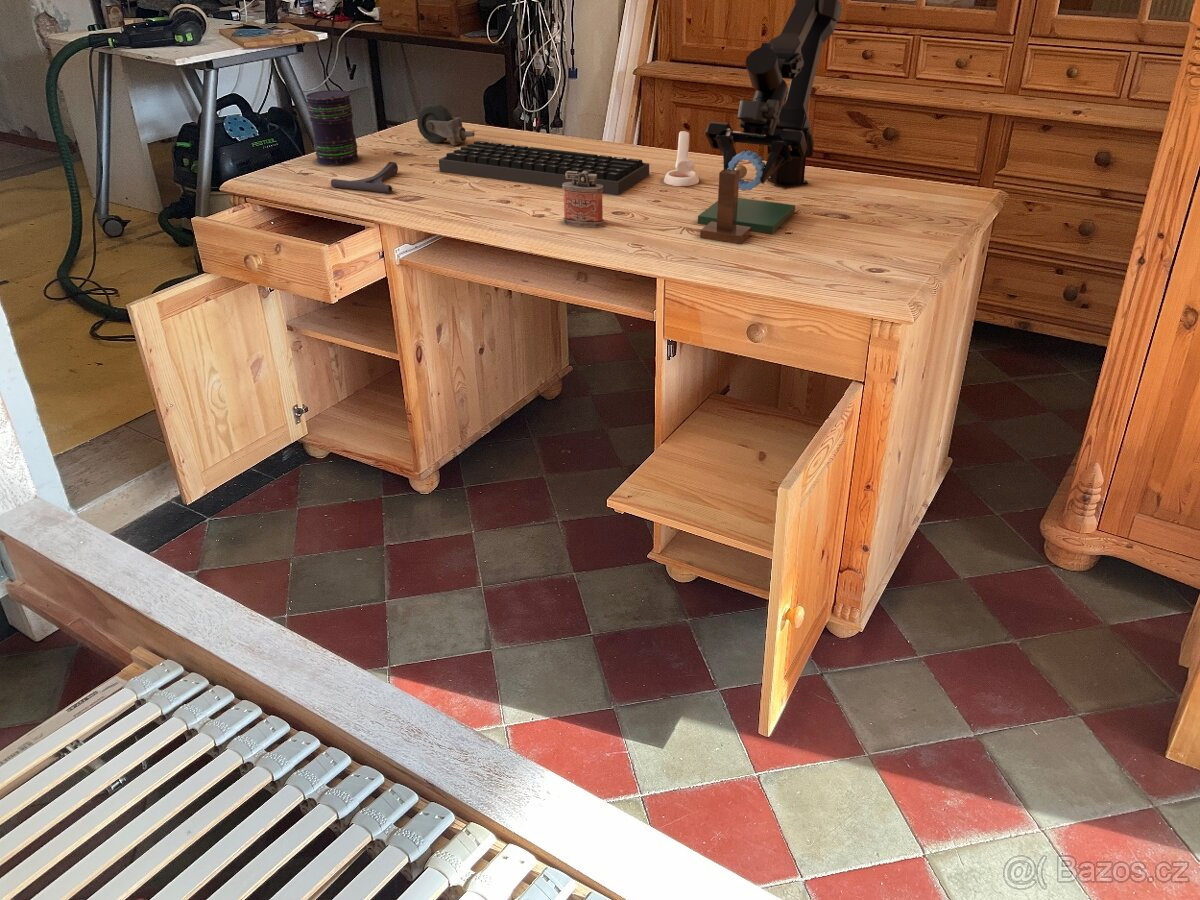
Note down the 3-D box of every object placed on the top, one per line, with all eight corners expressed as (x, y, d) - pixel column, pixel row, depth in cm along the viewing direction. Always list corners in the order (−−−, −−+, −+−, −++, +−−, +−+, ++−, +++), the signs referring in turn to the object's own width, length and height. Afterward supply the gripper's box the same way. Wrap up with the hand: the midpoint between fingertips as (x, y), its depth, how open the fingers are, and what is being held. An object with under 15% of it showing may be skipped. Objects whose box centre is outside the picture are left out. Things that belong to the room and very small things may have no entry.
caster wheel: (417, 147, 244) (469, 146, 238) (410, 107, 239) (462, 105, 233) (429, 141, 248) (480, 140, 242) (422, 102, 243) (474, 100, 237)
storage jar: (310, 159, 232) (299, 93, 224) (350, 152, 236) (340, 88, 229) (324, 168, 225) (314, 101, 217) (365, 161, 229) (356, 95, 221)
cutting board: (723, 203, 198) (723, 195, 197) (794, 212, 192) (795, 205, 192) (697, 223, 188) (697, 215, 187) (772, 234, 182) (772, 226, 181)
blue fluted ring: (730, 185, 187) (732, 148, 184) (764, 189, 185) (767, 152, 181) (725, 188, 186) (727, 151, 182) (760, 192, 183) (763, 155, 179)
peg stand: (719, 221, 188) (722, 159, 182) (759, 227, 185) (763, 163, 179) (699, 237, 181) (702, 173, 174) (740, 243, 177) (745, 178, 171)
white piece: (693, 146, 217) (705, 133, 210) (691, 198, 215) (703, 187, 209) (661, 140, 215) (673, 128, 208) (659, 193, 213) (670, 182, 207)
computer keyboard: (649, 175, 216) (649, 158, 214) (618, 195, 204) (618, 176, 202) (477, 154, 233) (476, 138, 231) (439, 171, 221) (438, 154, 219)
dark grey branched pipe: (423, 175, 219) (422, 163, 217) (388, 194, 207) (386, 181, 205) (368, 170, 223) (367, 158, 222) (331, 188, 211) (329, 175, 210)
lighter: (606, 222, 189) (605, 171, 183) (600, 228, 186) (599, 175, 181) (567, 218, 191) (565, 167, 186) (560, 224, 188) (559, 172, 183)
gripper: (710, 77, 182) (686, 151, 179) (808, 85, 174) (784, 162, 172) (723, 111, 192) (700, 182, 189) (816, 120, 185) (793, 194, 182)
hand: (743, 179), depth 183 cm, fingers closed on blue fluted ring, 7 cm apart
